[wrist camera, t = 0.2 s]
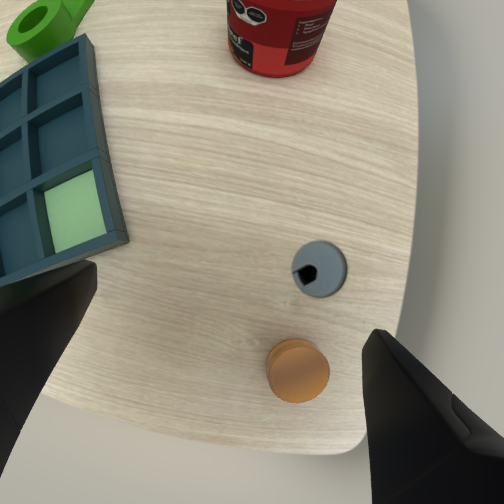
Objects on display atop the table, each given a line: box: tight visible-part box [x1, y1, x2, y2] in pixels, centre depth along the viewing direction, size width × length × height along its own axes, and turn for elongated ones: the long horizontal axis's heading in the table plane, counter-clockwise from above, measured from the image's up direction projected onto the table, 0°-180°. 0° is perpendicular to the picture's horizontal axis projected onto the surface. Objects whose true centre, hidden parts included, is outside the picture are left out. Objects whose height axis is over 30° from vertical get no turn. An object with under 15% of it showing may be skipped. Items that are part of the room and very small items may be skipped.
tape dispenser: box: [7, 0, 94, 63], centre depth 22 cm, size 15×7×5 cm, turn 168°
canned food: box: [227, 0, 337, 77], centre depth 19 cm, size 8×8×11 cm
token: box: [266, 339, 330, 403], centre depth 23 cm, size 5×5×2 cm
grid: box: [0, 33, 129, 287], centre depth 22 cm, size 21×21×3 cm
